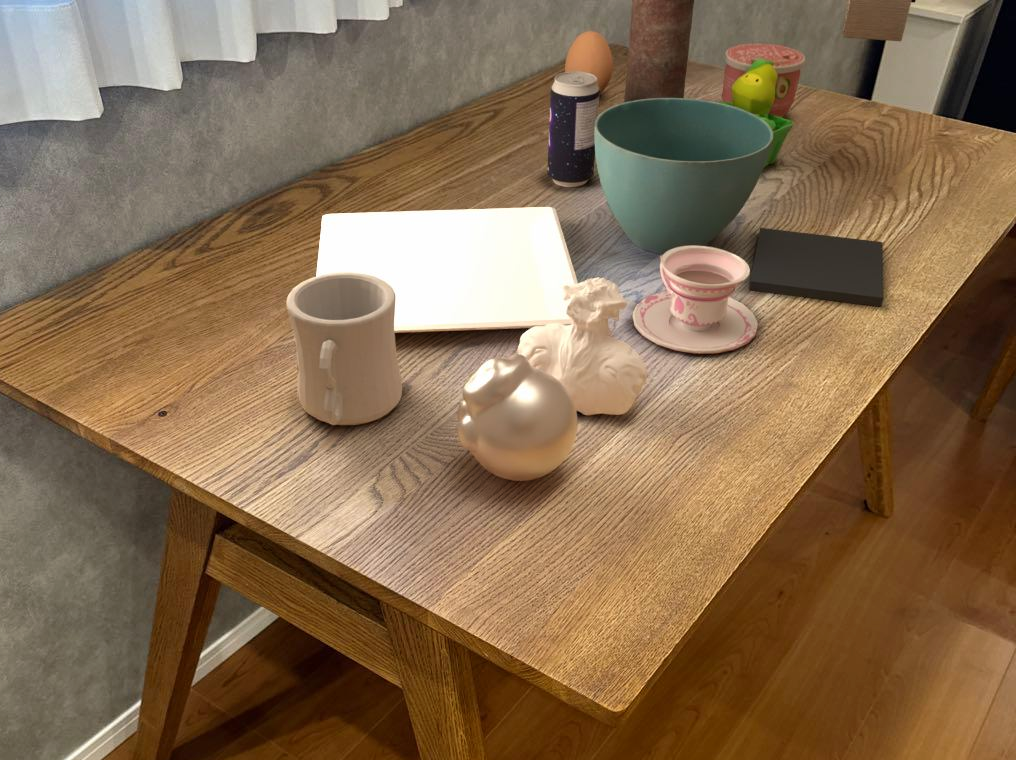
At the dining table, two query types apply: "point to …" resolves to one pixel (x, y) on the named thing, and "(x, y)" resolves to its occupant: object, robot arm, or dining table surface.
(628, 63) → the candle
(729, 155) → the plant pot
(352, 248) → the plate
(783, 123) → the fruit basket
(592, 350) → the bust
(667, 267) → the teacup
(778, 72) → the container
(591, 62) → the egg
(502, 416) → the cream glossy round piece
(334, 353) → the mug
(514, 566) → the dining table surface
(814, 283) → the mat
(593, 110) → the beverage can
